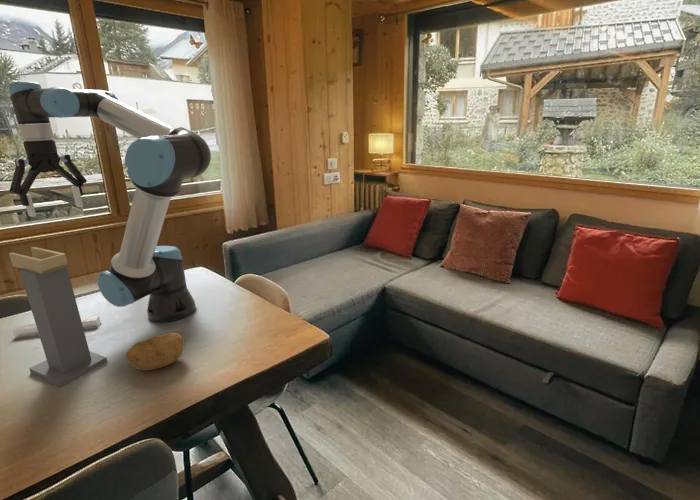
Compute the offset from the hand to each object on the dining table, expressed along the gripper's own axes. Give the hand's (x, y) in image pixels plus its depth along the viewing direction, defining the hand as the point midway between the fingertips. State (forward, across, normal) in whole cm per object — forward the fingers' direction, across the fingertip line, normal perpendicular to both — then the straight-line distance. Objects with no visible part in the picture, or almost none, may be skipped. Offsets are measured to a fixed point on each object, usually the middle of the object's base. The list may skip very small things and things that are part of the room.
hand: (57, 211), depth 125 cm
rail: (+37, +8, 0) cm, 38 cm away
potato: (+37, +8, +46) cm, 60 cm away
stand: (+37, +19, +25) cm, 48 cm away
